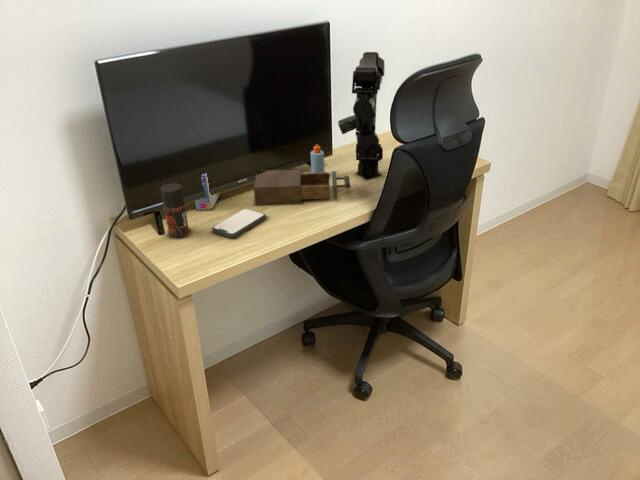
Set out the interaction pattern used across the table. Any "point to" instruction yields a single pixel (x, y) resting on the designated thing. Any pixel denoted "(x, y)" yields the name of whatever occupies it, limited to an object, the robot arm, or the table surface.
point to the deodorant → (175, 210)
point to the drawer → (320, 185)
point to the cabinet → (278, 187)
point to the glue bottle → (317, 160)
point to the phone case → (238, 223)
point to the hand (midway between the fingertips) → (365, 156)
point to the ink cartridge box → (206, 196)
